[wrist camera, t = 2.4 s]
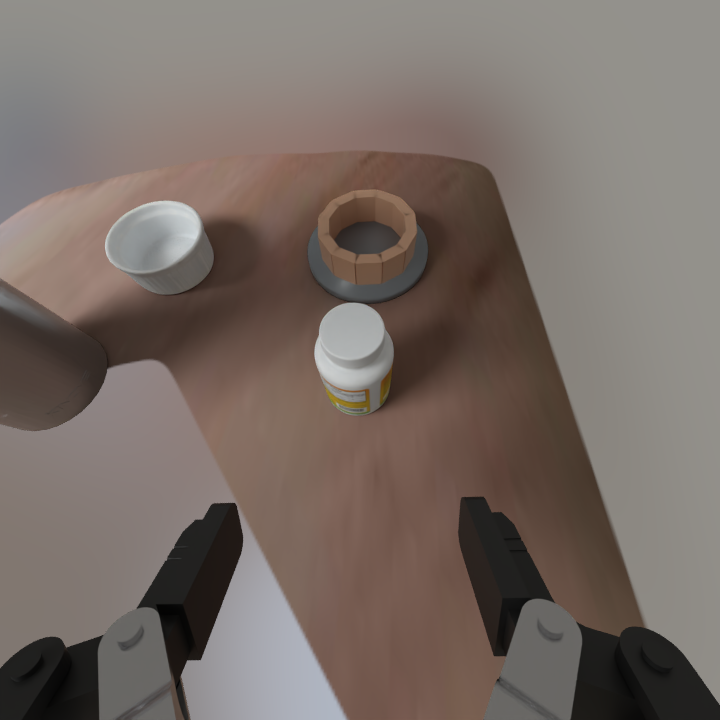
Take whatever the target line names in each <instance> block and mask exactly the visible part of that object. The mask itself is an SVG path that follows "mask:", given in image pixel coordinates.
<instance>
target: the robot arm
mask: <svg viewBox="0 0 720 720" xmlns="http://www.w3.org/2000/svg"><path fill="white" fill-rule="evenodd" d="M106 373H107V357H106V353H105V351H104V349H103V347H102V346H101V345H100V344H99V343H98V342H97V341H96V340H95V339H93V338H92V337H90V336H89V335H87V334H86V333H84V332H82V331H81V330H79V329H78V328H76V327H75V326H73V325H72V324H70V323H69V322H67V321H65V320H64V319H63V318H61V317H60V316H58V315H57V314H55V313H53V312H52V311H50V310H49V309H47V308H46V307H44V306H43V305H41V304H39V303H38V302H36V301H35V300H33V299H32V298H30V297H29V296H27V295H25V294H24V293H22V292H21V291H19V290H18V289H16V288H15V287H13V286H11V285H10V284H8V283H7V282H5V281H4V280H2V279H1V278H0V424H1V425H5V426H9V427H13V428H17V429H21V430H27V431H39V430H46V429H50V428H53V427H56V426H59V425H61V424H63V423H65V422H67V421H68V420H70V419H72V418H73V417H75V416H76V415H77V414H79V413H80V412H82V411H83V409H85V408H86V407H87V406H88V405H89V404H90V403H91V402H92V400H93V399H94V397H95V396H96V395H97V394H98V392H99V390H100V388H101V386H102V384H103V383H104V379H105V376H106ZM458 534H459V543H460V548H461V552H462V555H463V558H464V561H465V564H466V568H467V571H468V574H469V577H470V581H471V584H472V587H473V590H474V593H475V597H476V600H477V603H478V606H479V610H480V613H481V616H482V619H483V622H484V626H485V629H486V632H487V635H488V639H489V642H490V645H491V648H492V651H493V655H494V656H506V660H505V663H504V666H503V669H502V672H501V675H500V677H499V679H497V681H496V683H495V686H494V689H493V692H492V695H491V698H490V701H489V704H488V707H487V710H486V713H485V716H484V719H483V720H720V705H719V703H718V702H717V701H716V699H715V698H714V696H713V695H712V694H711V692H710V691H709V689H708V688H707V686H706V685H705V684H704V682H703V681H702V679H701V678H700V677H699V675H698V674H697V672H696V671H695V669H694V668H693V667H692V665H691V664H690V662H689V661H688V660H687V658H686V657H685V656H684V654H683V653H682V652H681V651H680V650H679V649H678V648H677V647H676V646H675V645H674V644H672V643H671V642H670V641H668V640H667V639H666V638H664V637H663V636H661V635H660V634H658V633H656V632H654V631H651V630H649V629H646V628H642V627H629V628H626V629H625V630H623V632H622V633H621V635H620V637H617V636H614V635H611V634H607V633H604V632H601V631H597V630H594V629H591V628H588V627H585V626H583V625H581V624H579V623H577V622H576V621H575V620H574V619H573V618H572V616H571V615H570V614H569V613H568V612H567V611H566V610H564V609H563V608H562V607H560V606H559V605H557V604H556V603H555V602H554V600H553V599H552V597H551V595H550V593H549V591H548V589H547V587H546V585H545V583H544V581H543V579H542V578H541V576H540V574H539V572H538V570H537V568H536V566H535V564H534V562H533V560H532V558H531V556H530V554H529V553H528V552H527V549H526V547H525V545H524V543H523V541H521V537H520V535H519V533H518V531H517V529H516V527H515V525H514V524H513V523H512V522H511V521H510V520H509V519H508V518H507V517H506V516H505V515H504V514H503V513H502V512H493V513H492V512H491V510H490V508H489V506H488V504H487V501H486V499H485V498H484V497H462V498H461V502H460V515H459V529H458ZM242 547H243V533H242V529H241V524H240V519H239V515H238V510H237V506H236V504H235V503H214V504H212V505H211V506H210V508H209V510H208V511H207V513H206V515H205V517H204V519H203V520H195V521H194V522H193V523H192V524H191V525H190V526H189V527H188V528H186V529H185V531H183V533H182V534H181V536H180V537H179V539H178V541H177V542H176V544H175V546H174V549H172V551H171V552H170V554H169V556H168V558H167V561H165V563H164V564H163V566H162V567H161V569H160V571H159V572H158V574H157V576H156V577H155V579H154V581H153V582H152V585H151V586H150V587H149V589H148V591H147V592H146V594H145V596H144V597H143V599H142V601H141V602H140V604H139V606H138V607H137V609H135V610H133V611H130V612H128V613H127V614H125V615H123V616H122V617H121V618H119V619H118V620H117V621H116V622H115V623H113V624H112V625H111V627H110V628H109V629H108V630H107V631H106V633H105V634H104V635H102V636H100V637H97V638H94V639H91V640H88V641H85V642H82V643H79V644H76V645H73V646H70V647H67V648H66V647H65V645H64V643H63V641H62V640H61V639H60V638H58V637H46V638H43V639H39V640H37V641H35V642H33V643H31V644H29V645H27V646H26V647H24V648H23V649H21V650H20V651H19V652H17V653H16V654H15V655H13V657H11V658H10V659H9V660H8V661H7V662H6V663H5V664H4V665H3V666H2V667H1V668H0V720H191V719H190V714H189V710H188V706H187V700H186V696H185V692H184V687H183V682H182V678H181V674H182V671H183V669H184V667H185V664H186V662H187V660H201V658H202V655H203V653H204V650H205V648H206V645H207V642H208V640H209V637H210V634H211V632H212V629H213V626H214V624H215V621H216V618H217V616H218V613H219V611H220V608H221V605H222V602H223V600H224V597H225V595H226V592H227V589H228V587H229V584H230V581H231V579H232V576H233V574H234V571H235V568H236V565H237V563H238V560H239V558H240V555H241V551H242Z"/></svg>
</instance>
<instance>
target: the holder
mask: <svg viewBox="0 0 720 720" xmlns="http://www.w3.org/2000/svg"><path fill="white" fill-rule="evenodd" d="M427 256H428V244H427V240H426V237H425V234H424V232H423V231H422V229H421V228H420V226H419V225H418V224H417V223H416V218H415V213H414V211H413V210H412V209H411V208H410V207H409V206H408V205H407V204H406V203H405V202H404V201H403V200H402V199H401V198H400V197H398V196H395V195H392V194H389V193H387V192H384V191H381V190H378V191H377V190H356V191H354V192H353V191H351V192H349V193H347V194H345V195H342V196H340V197H338V198H336V199H334V200H332V201H331V202H330V203H329V204H328V206H327V207H326V208H325V209H324V211H323V212H322V213H321V214H320V216H319V217H318V226H317V227H316V229H315V230H314V232H313V233H312V236H311V238H310V240H309V244H308V260H309V265H310V269H311V271H312V274H313V276H314V278H315V279H316V281H317V282H318V283H319V285H320V286H321V287H322V288H323V289H324V290H326V291H327V292H328V293H330V294H331V295H333V296H335V297H337V298H339V299H342V300H345V301H348V302H352V303H361V304H374V303H381V302H386V301H389V300H392V299H394V298H397V297H399V296H401V295H402V294H404V293H406V292H407V291H408V290H410V289H411V288H412V287H413V286H414V285H415V284H416V283H417V282H418V280H419V279H420V277H421V276H422V274H423V272H424V269H425V266H426V261H427Z"/></svg>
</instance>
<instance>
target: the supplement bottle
mask: <svg viewBox="0 0 720 720" xmlns="http://www.w3.org/2000/svg"><path fill="white" fill-rule="evenodd" d="M393 359H394V347H393V342H392V339H391V337H390V335H389V334H388V332H387V331H386V329H385V326H384V322H383V320H382V318H381V316H380V315H379V314H378V313H377V312H376V311H375V310H374V309H373V308H371V307H369V306H367V305H365V304H361V303H345V304H341V305H339V306H336V307H335V308H333V309H332V310H330V311H329V312H328V313H327V314H326V315H325V316H324V318H323V320H322V322H321V324H320V328H319V337H318V339H317V341H316V345H315V361H316V365H317V368H318V370H319V373H320V375H321V378H322V381H323V383H324V386H325V389H326V391H327V394H328V396H329V398H330V400H331V402H332V403H333V405H334V406H335V407H336V408H338V409H339V410H340V411H342V412H344V413H347V414H350V415H357V416H360V415H366V414H369V413H372V412H374V411H375V410H377V409H378V408H379V407H380V406H381V405H382V404H383V403H384V402H385V400H386V398H387V396H388V394H389V390H390V383H391V374H392V367H393Z"/></svg>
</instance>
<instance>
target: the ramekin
mask: <svg viewBox="0 0 720 720" xmlns="http://www.w3.org/2000/svg"><path fill="white" fill-rule="evenodd" d="M105 250H106V255H107V257H108V259H109V260H110V262H111V263H112V264H113V265H114V266H116V267H117V268H118V269H120V270H121V271H123V272H125V273H126V274H128V275H129V276H130V277H131V278H132V279H134V280H135V281H136V282H137V283H138V284H140V285H141V286H142V287H143V288H145V289H147V290H149V291H151V292H153V293H156V294H163V295H170V294H171V295H172V294H178V293H181V292H184V291H187V290H189V289H191V288H193V287H194V286H196V285H198V284H199V283H200V282H201V281H202V280H203V279H204V278H205V277H206V276H207V275H208V274H209V272H210V270H211V268H212V266H213V261H214V254H213V250H212V246H211V244H210V242H209V239H208V237H207V235H206V233H205V231H204V226H203V222H202V220H201V217H200V216H199V214H198V213H197V211H195V210H194V209H193V208H192V207H190V206H188V205H186V204H184V203H180V202H175V201H157V202H152V203H148V204H145V205H141V206H139V207H137V208H135V209H133V210H131V211H129V212H128V213H126V214H125V215H123V216H122V217H121V218H120V219H119V220H118V221H117V222H116V223H115V224H114V225H113V226H112V228H111V229H110V231H109V233H108V235H107V238H106V241H105Z"/></svg>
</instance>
